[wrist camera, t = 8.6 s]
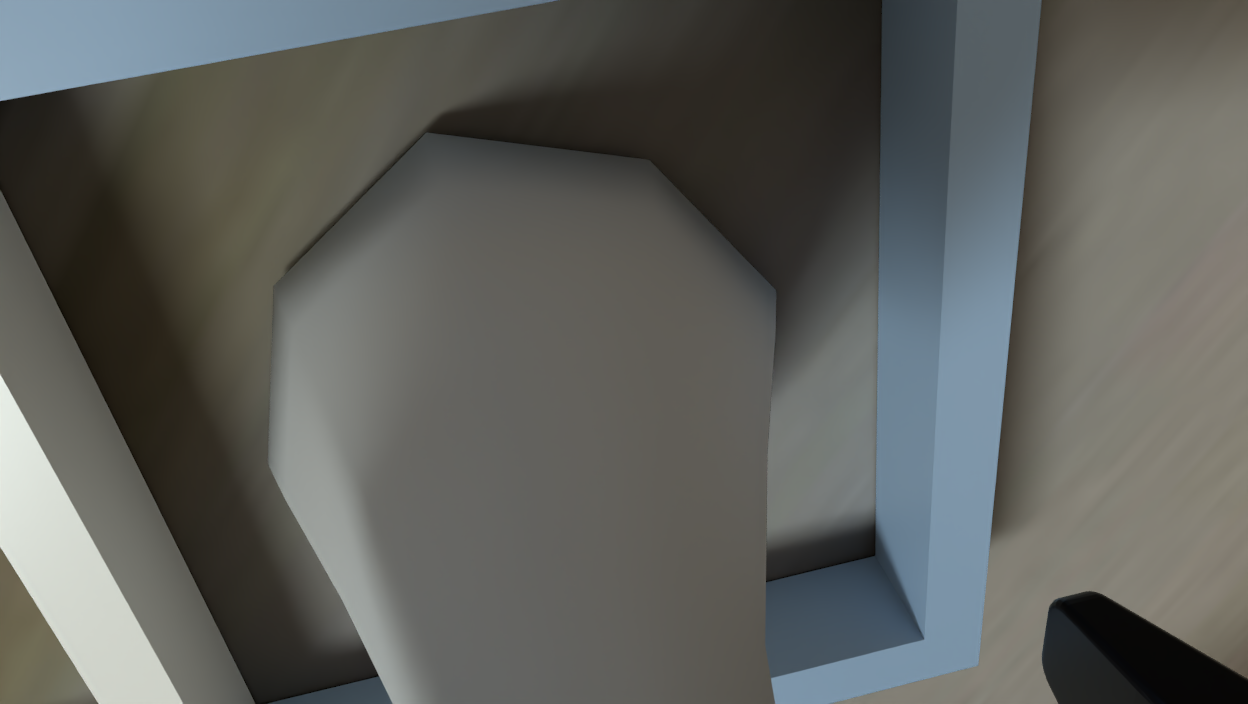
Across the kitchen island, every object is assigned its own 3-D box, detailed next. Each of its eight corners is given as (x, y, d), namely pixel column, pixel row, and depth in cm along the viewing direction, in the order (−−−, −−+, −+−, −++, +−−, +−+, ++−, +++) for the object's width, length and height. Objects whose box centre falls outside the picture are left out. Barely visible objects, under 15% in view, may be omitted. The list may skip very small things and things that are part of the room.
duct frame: (965, -206, 12) (1060, -195, 10) (925, 582, 19) (978, 665, 17) (-1578, 216, 9) (-1994, 323, 8) (-537, 942, 17) (-639, 1080, 15)
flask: (386, 26, 12) (395, 707, 4) (852, 253, 15) (1435, 919, 7) (184, 480, 15) (-67, 1464, 6) (613, 598, 18) (819, 1378, 9)
